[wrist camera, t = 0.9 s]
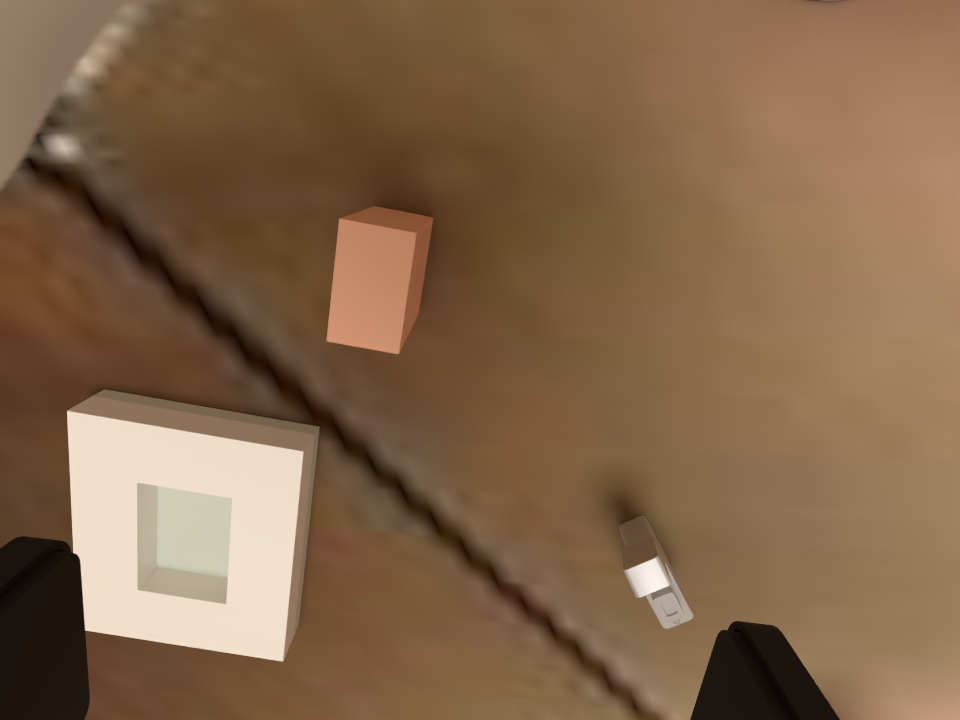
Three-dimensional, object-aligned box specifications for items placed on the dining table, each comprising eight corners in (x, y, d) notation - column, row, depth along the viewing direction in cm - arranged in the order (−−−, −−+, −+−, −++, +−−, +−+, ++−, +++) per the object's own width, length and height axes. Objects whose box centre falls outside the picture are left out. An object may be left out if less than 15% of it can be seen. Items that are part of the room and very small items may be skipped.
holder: (104, 389, 33) (67, 410, 30) (319, 426, 33) (303, 451, 30) (108, 593, 37) (76, 629, 34) (298, 623, 37) (283, 661, 35)
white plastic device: (671, 566, 36) (720, 675, 28) (644, 577, 36) (686, 688, 28) (623, 474, 34) (661, 564, 26) (595, 486, 34) (626, 579, 26)
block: (374, 205, 29) (339, 218, 23) (433, 217, 29) (416, 233, 23) (362, 302, 31) (326, 341, 24) (418, 313, 31) (398, 354, 24)
